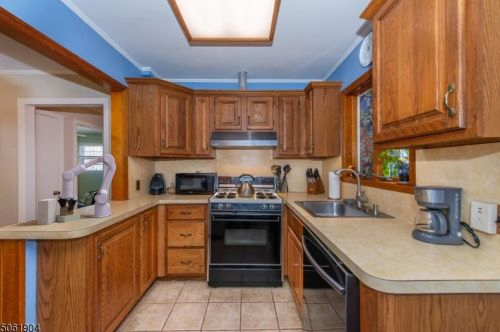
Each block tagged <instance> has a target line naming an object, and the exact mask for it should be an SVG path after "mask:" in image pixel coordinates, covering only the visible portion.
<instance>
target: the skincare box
mask: <svg viewBox="0 0 500 332" xmlns="http://www.w3.org/2000/svg"><path fill="white" fill-rule="evenodd" d="M57 200H58V198H43V199H40V200H37V226H39V225H41V226H45V225H46V226H49V225H51V224H53V223H56V215H57V203H58V201H57Z"/></svg>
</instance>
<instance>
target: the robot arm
mask: <svg viewBox="0 0 500 332" xmlns="http://www.w3.org/2000/svg"><path fill="white" fill-rule="evenodd" d="M97 164H104V165H105V167H106V168H107V169H106V172H105V175H104V178H103V181H102V183H101V186H100V187H99V190H98V191H97V193H96V194H95V195H94V201H95V202H94V215H91V216H90V217H91V218H100V219H101V218H106V217H108V216H112V214H111V204H110V203H109V202H107V201H108V195H109V193H108V192H109V189H110V186H111V183H112V180H113V177H114V175H115V172H116V169H117V164H116V161H115V158H114V156H113V155H112V154H109V153H105V154H102V155H99V156H97V157H94V158H93V159H91V160H89V161H87V162H86V163H84V164H81V163H80V164H76V165H75V166H73V167H72V168H68V169H67V170H66V171H63V172H62V174H61V178H62V180H61V195H57V203H58V205H59V208H60V207H66V206H67V204H68V206H69V211H73V212H74V210H73V209H74V208H75V206H76V203H77V202H78V196H77V195H73V194H74V182H73V179H74V177H77V176H79V175H81V174H83V173H85V172H86V170H87V169H89V168H90V167H92V166H95V165H97Z"/></svg>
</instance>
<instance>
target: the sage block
mask: <svg viewBox="0 0 500 332" xmlns="http://www.w3.org/2000/svg"><path fill="white" fill-rule="evenodd" d="M79 220H81V213H74V212H73V215H68V216H62V215H60V214H56V222H57V223H70V222H75V221H79ZM56 222H55V223H56Z"/></svg>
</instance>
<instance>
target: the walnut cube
mask: <svg viewBox="0 0 500 332" xmlns="http://www.w3.org/2000/svg"><path fill="white" fill-rule="evenodd" d="M73 213H74V209H73V211H69V206H67V205H66V207H60V206H59V215H62V216H68V215H73Z"/></svg>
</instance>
